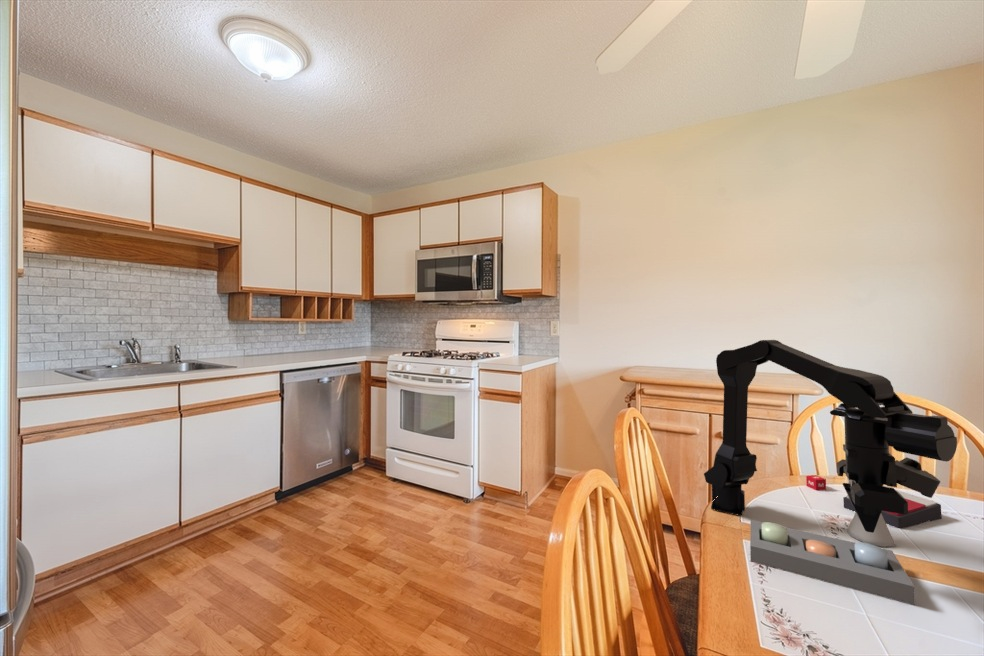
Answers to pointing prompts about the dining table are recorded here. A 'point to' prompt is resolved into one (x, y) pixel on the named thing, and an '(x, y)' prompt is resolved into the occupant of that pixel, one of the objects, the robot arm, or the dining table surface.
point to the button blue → (871, 555)
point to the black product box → (917, 511)
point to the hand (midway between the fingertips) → (869, 531)
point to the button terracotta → (820, 548)
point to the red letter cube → (816, 482)
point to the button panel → (832, 564)
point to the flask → (878, 537)
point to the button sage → (774, 533)
